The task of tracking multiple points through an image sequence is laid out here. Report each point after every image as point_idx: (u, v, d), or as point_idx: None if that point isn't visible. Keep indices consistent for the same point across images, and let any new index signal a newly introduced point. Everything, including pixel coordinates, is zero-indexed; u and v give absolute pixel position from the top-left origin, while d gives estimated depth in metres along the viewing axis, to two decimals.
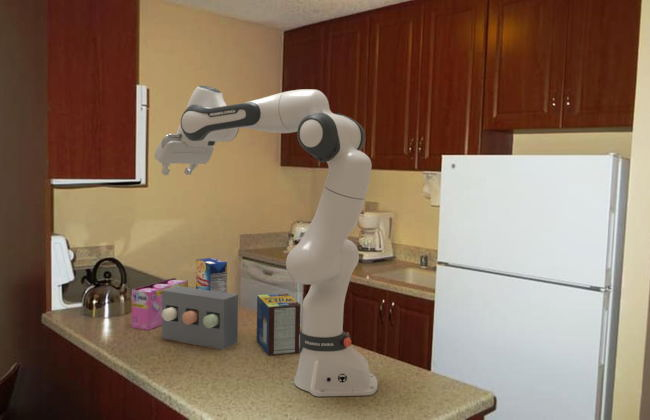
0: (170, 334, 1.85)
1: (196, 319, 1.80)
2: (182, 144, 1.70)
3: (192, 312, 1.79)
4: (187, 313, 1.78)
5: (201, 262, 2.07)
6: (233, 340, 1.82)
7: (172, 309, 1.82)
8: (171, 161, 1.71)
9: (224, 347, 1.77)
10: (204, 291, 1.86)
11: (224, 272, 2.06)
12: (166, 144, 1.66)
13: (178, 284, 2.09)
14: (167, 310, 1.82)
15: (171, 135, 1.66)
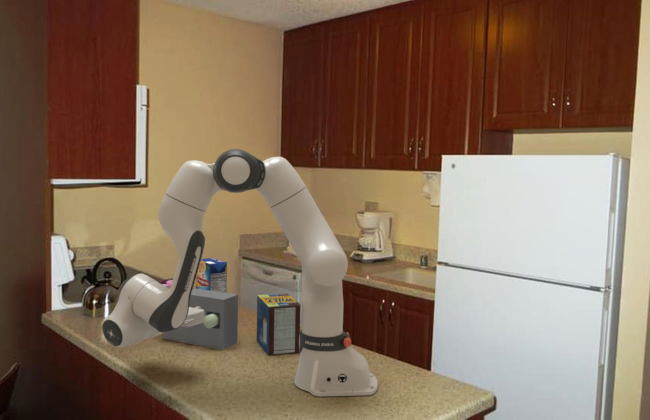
0: (170, 334, 1.85)
1: None
2: None
3: None
4: None
5: (201, 262, 2.07)
6: (233, 340, 1.82)
7: None
8: (191, 307, 1.58)
9: (224, 347, 1.77)
10: (204, 291, 1.86)
11: (224, 272, 2.06)
12: (190, 317, 1.52)
13: None
14: None
15: None
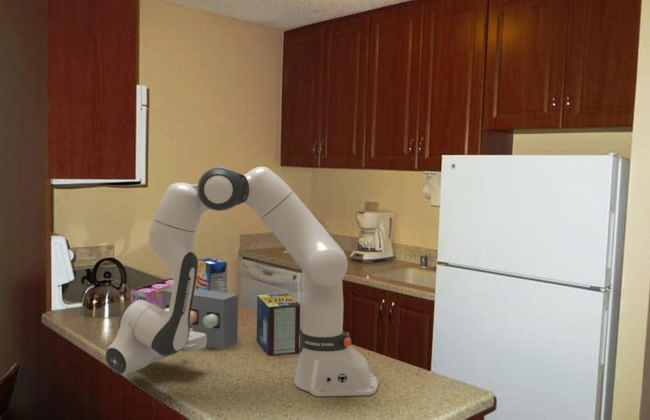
0: None
1: (196, 319, 1.80)
2: None
3: (192, 312, 1.79)
4: None
5: (201, 262, 2.07)
6: (233, 340, 1.82)
7: None
8: (193, 331, 1.59)
9: (224, 347, 1.77)
10: (204, 291, 1.86)
11: (224, 272, 2.06)
12: (193, 342, 1.53)
13: None
14: (167, 310, 1.82)
15: None
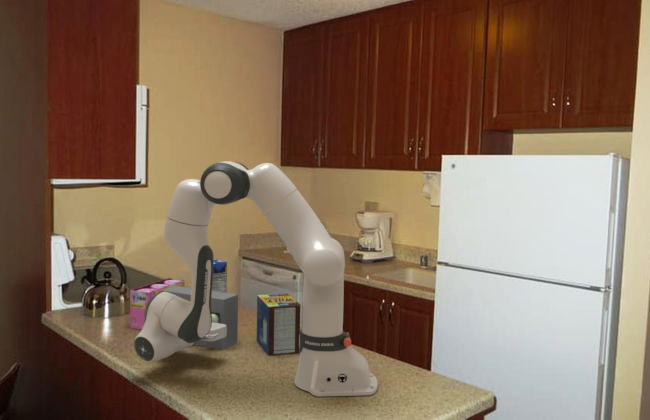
0: None
1: None
2: None
3: None
4: None
5: None
6: (233, 340, 1.82)
7: None
8: None
9: (224, 347, 1.77)
10: None
11: (224, 272, 2.06)
12: (214, 332, 1.62)
13: (175, 284, 2.09)
14: None
15: (205, 335, 1.60)
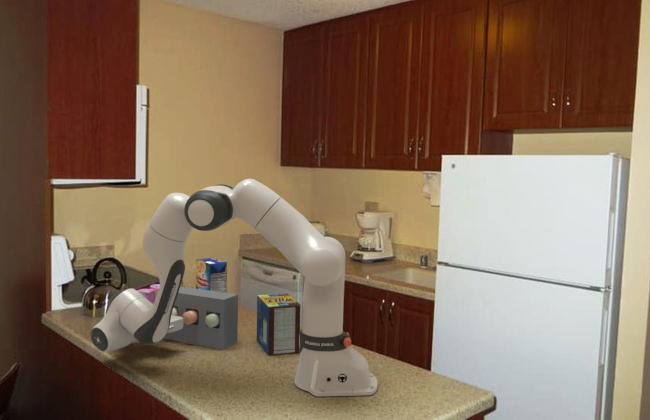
0: (170, 334, 1.85)
1: (196, 319, 1.80)
2: None
3: (192, 312, 1.79)
4: (187, 313, 1.78)
5: (201, 262, 2.07)
6: (233, 340, 1.82)
7: (174, 308, 1.83)
8: (171, 315, 1.75)
9: (224, 347, 1.77)
10: (204, 291, 1.86)
11: (224, 272, 2.06)
12: (170, 324, 1.69)
13: None
14: None
15: None
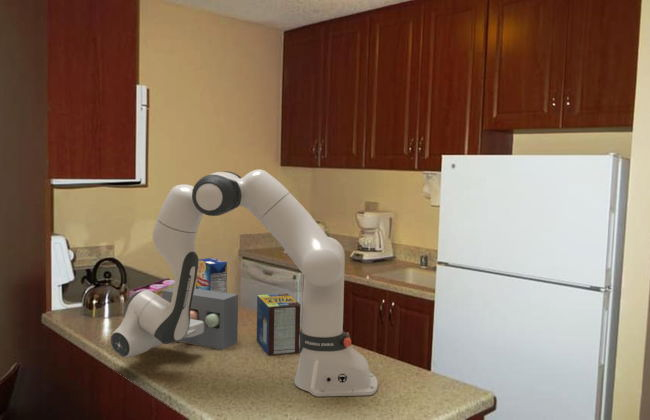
0: None
1: (196, 319, 1.80)
2: None
3: (192, 312, 1.80)
4: None
5: (201, 262, 2.07)
6: (233, 340, 1.82)
7: None
8: (191, 319, 1.71)
9: (224, 347, 1.77)
10: (204, 291, 1.86)
11: (224, 272, 2.06)
12: (191, 328, 1.65)
13: None
14: None
15: None
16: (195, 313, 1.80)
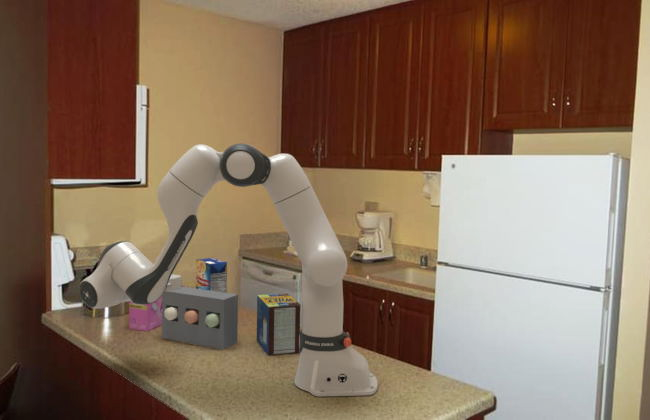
0: (170, 334, 1.85)
1: (198, 318, 1.81)
2: None
3: (194, 311, 1.80)
4: (189, 312, 1.80)
5: (201, 262, 2.07)
6: (233, 340, 1.82)
7: (174, 308, 1.84)
8: None
9: (224, 347, 1.77)
10: (204, 291, 1.86)
11: (224, 272, 2.06)
12: (167, 282, 1.54)
13: None
14: (169, 309, 1.83)
15: None
16: (197, 312, 1.81)
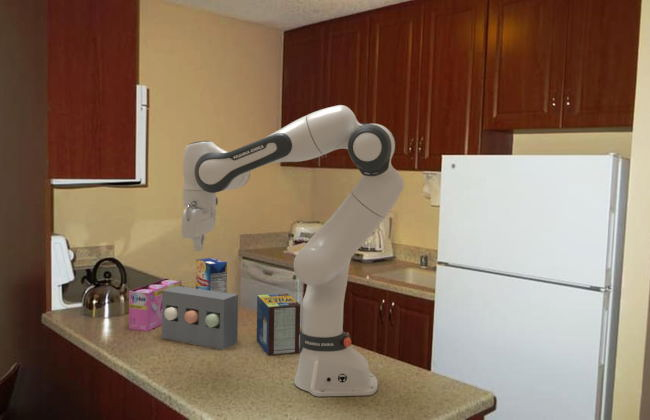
0: (170, 334, 1.85)
1: (198, 318, 1.81)
2: (201, 211, 1.51)
3: (194, 311, 1.80)
4: (189, 312, 1.80)
5: (201, 262, 2.07)
6: (233, 340, 1.82)
7: (174, 308, 1.84)
8: (199, 233, 1.50)
9: (224, 347, 1.77)
10: (204, 291, 1.86)
11: (224, 272, 2.06)
12: (191, 215, 1.46)
13: (173, 284, 2.08)
14: (169, 309, 1.83)
15: (191, 204, 1.47)
16: (197, 312, 1.81)
